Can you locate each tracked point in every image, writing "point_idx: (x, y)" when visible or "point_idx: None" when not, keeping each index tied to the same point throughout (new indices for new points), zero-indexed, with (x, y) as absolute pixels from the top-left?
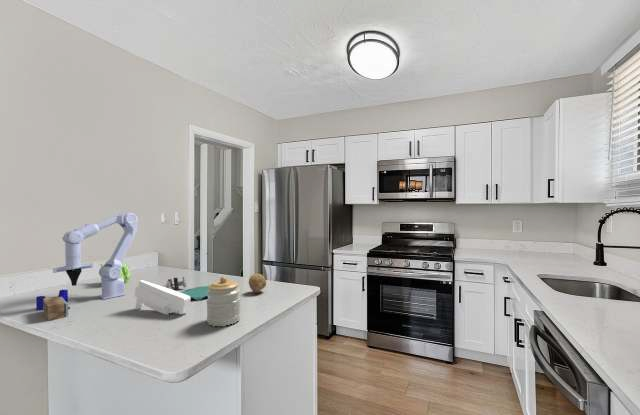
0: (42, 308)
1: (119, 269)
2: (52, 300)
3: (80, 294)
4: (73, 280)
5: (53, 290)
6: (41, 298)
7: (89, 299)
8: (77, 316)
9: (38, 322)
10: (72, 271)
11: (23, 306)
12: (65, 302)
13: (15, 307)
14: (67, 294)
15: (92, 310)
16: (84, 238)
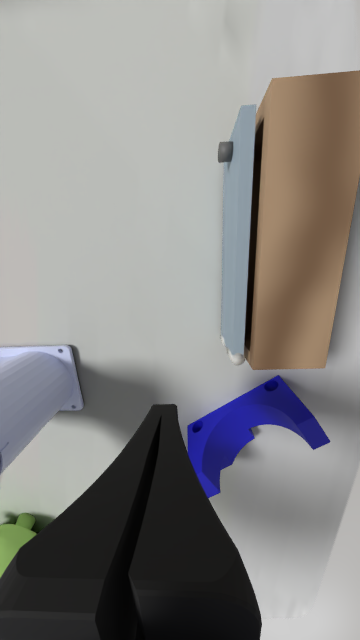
0: (279, 379)
1: None
2: (303, 266)
3: None
4: (166, 437)
5: None
6: (310, 412)
7: (119, 394)
8: (190, 113)
9: None
10: (158, 634)
11: (309, 471)
12: (245, 176)
13: (328, 477)
14: (189, 453)
15: (121, 179)
16: None
